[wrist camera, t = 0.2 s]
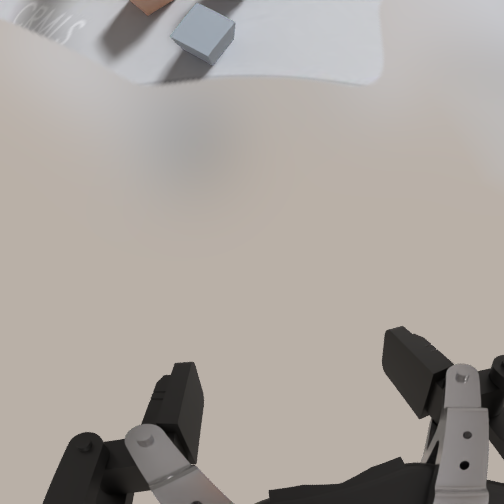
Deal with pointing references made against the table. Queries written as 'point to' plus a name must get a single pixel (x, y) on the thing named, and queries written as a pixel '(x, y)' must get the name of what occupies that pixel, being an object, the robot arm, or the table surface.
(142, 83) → the table surface
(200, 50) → the slate-blue block
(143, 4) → the terracotta block
